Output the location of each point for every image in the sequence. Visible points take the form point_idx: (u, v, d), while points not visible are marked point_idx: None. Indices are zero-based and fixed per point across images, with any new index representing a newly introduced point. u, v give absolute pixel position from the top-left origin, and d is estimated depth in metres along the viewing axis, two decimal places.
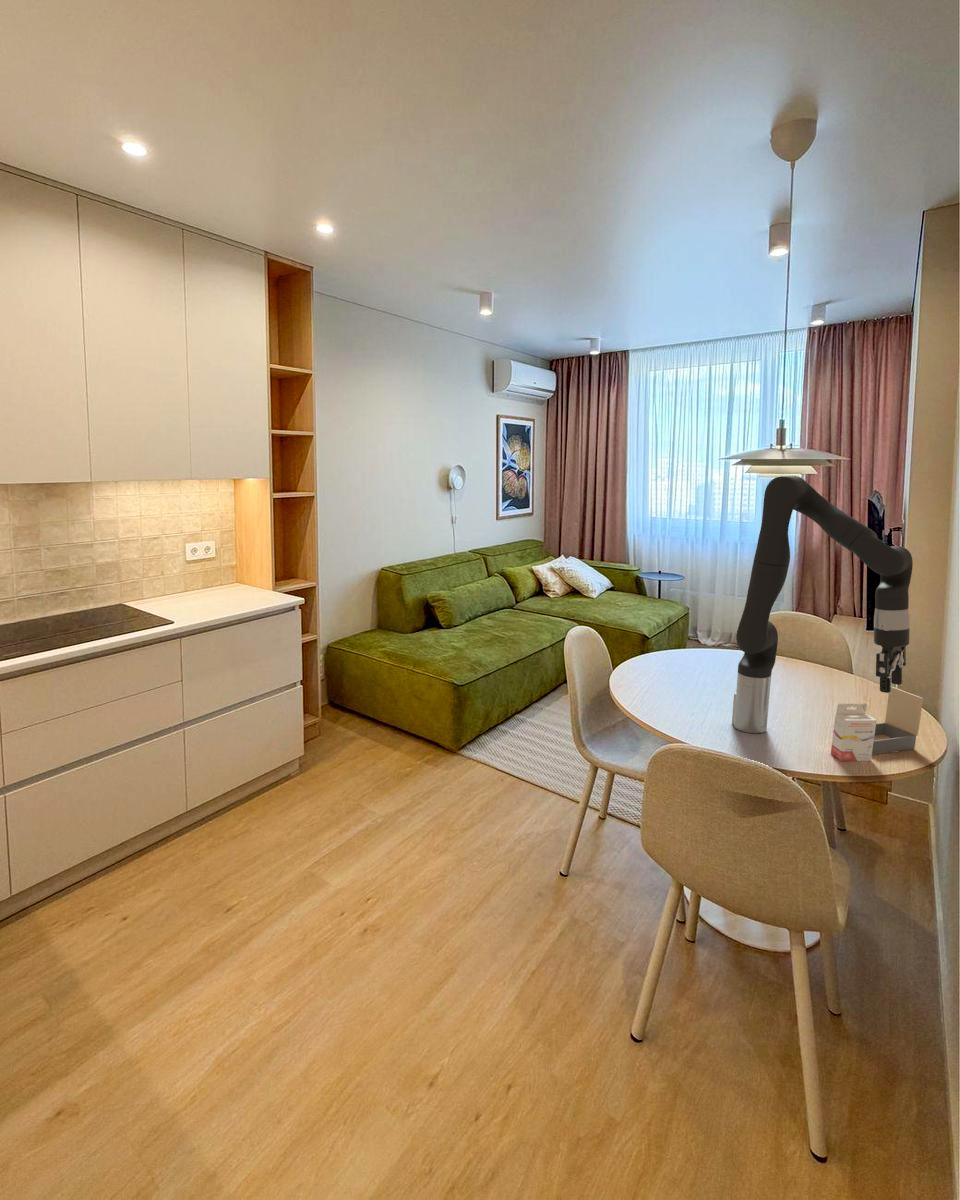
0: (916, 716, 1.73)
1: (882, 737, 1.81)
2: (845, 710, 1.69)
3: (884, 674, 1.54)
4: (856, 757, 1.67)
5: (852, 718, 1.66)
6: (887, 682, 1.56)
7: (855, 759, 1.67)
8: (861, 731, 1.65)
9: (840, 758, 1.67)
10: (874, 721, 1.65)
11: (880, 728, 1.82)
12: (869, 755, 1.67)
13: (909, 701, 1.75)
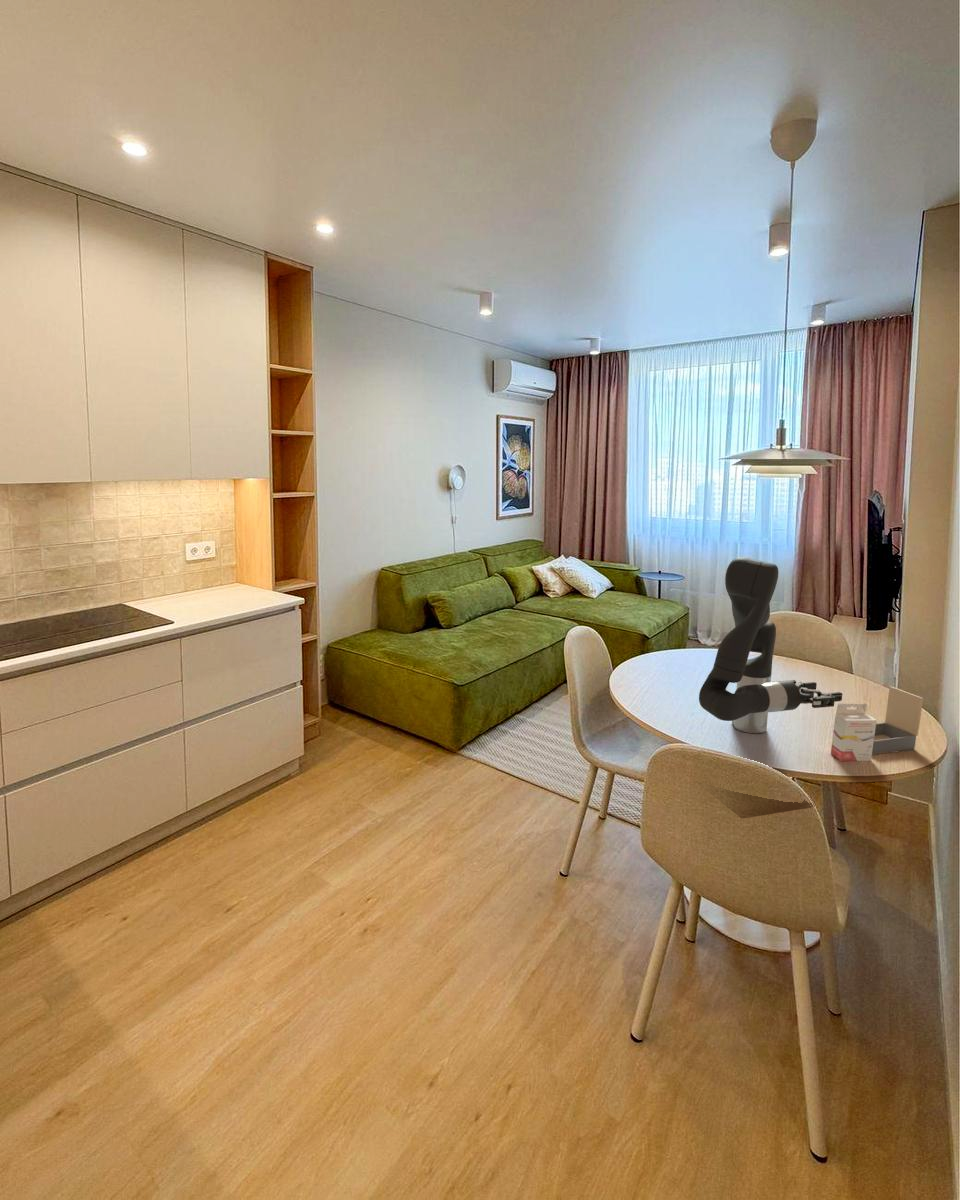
0: (916, 716, 1.73)
1: (882, 737, 1.81)
2: (845, 710, 1.69)
3: None
4: (856, 757, 1.67)
5: (852, 718, 1.66)
6: None
7: (855, 759, 1.67)
8: (861, 731, 1.65)
9: (840, 758, 1.67)
10: (874, 721, 1.65)
11: (880, 728, 1.82)
12: (869, 755, 1.67)
13: (909, 701, 1.75)
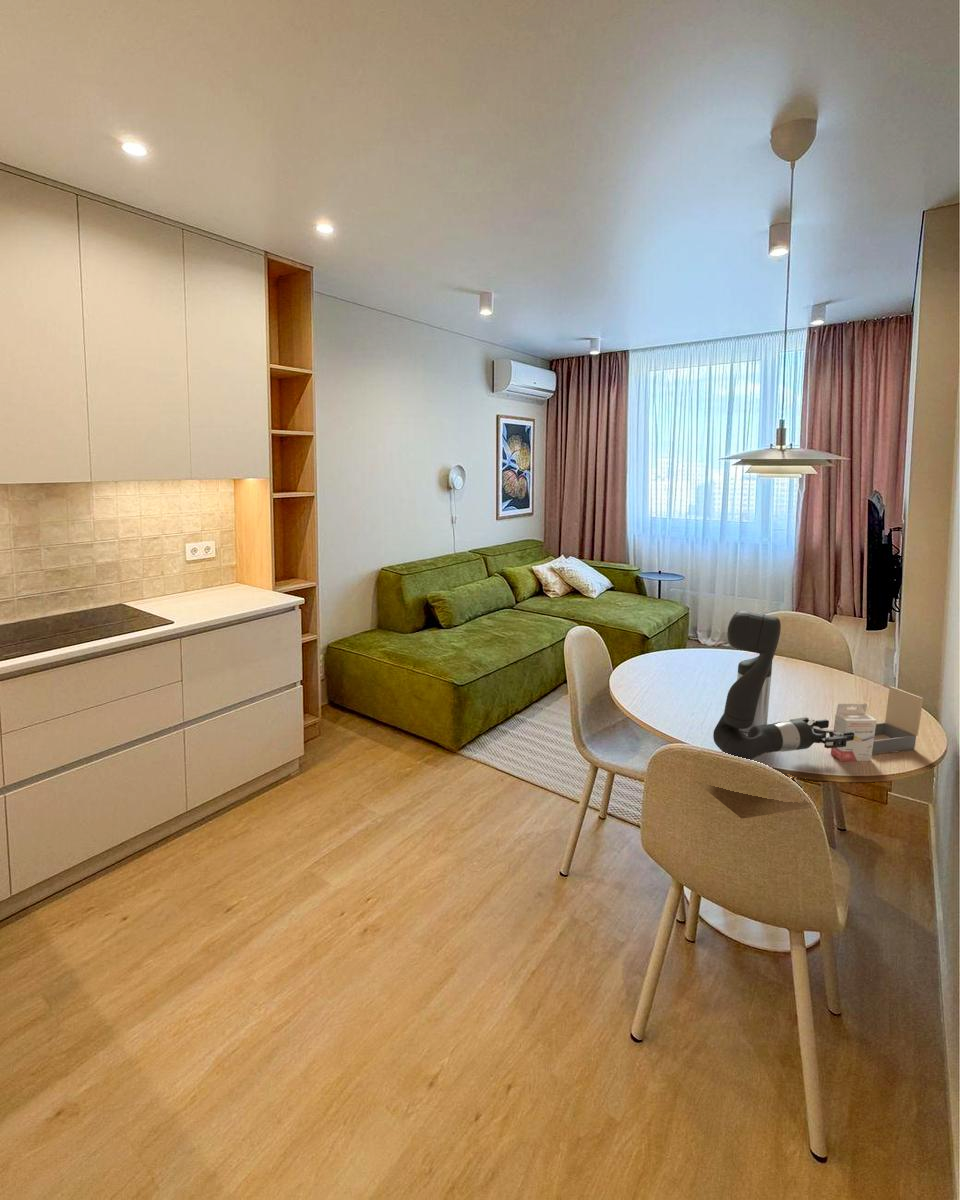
0: (916, 716, 1.73)
1: (882, 737, 1.81)
2: (845, 710, 1.69)
3: None
4: (856, 757, 1.67)
5: (852, 718, 1.66)
6: None
7: (855, 759, 1.67)
8: (861, 732, 1.65)
9: (840, 758, 1.67)
10: (874, 721, 1.65)
11: (880, 728, 1.82)
12: (869, 755, 1.67)
13: (909, 701, 1.75)
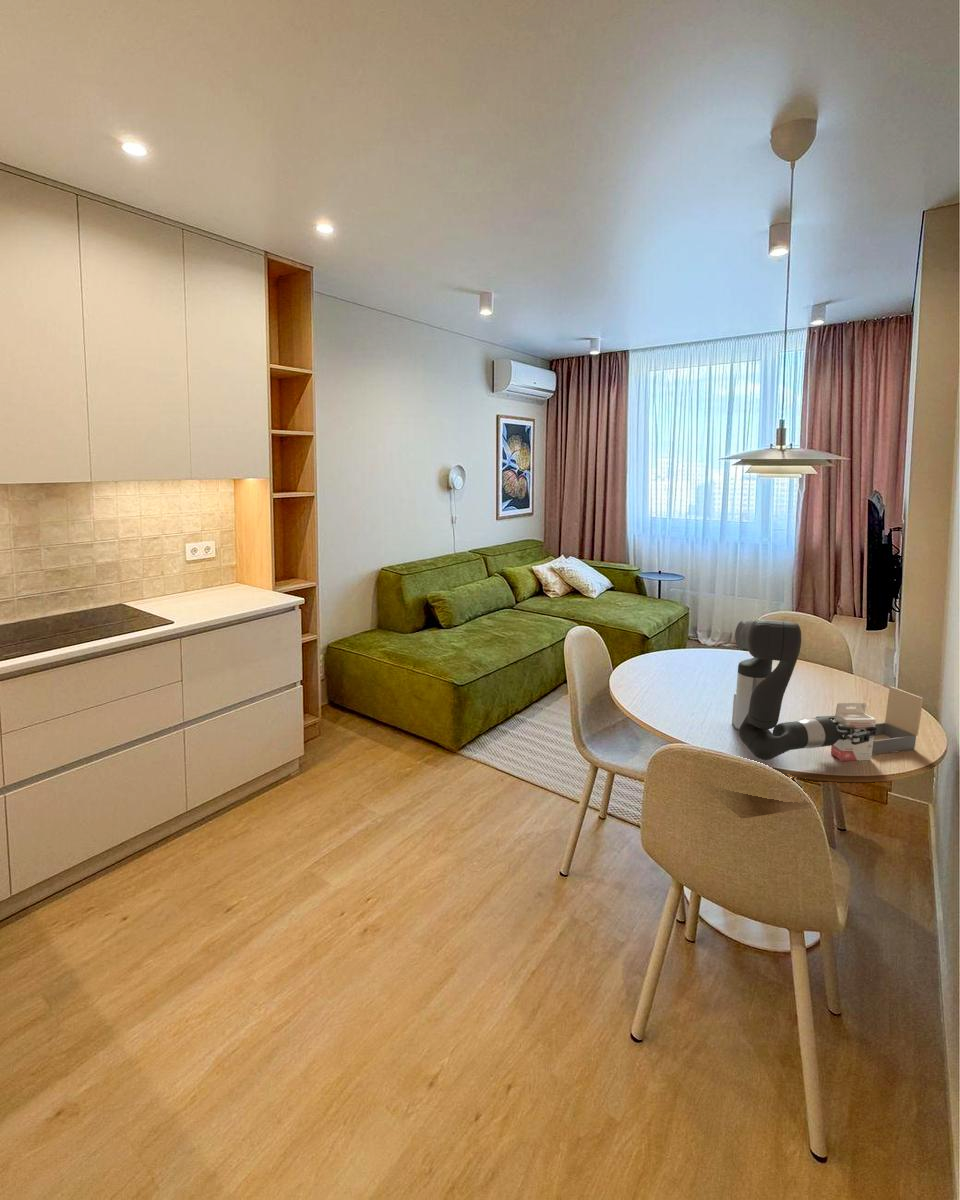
0: (916, 716, 1.73)
1: (882, 737, 1.81)
2: (845, 710, 1.69)
3: None
4: (856, 757, 1.67)
5: (852, 717, 1.66)
6: None
7: (855, 758, 1.67)
8: None
9: (840, 758, 1.67)
10: (873, 720, 1.65)
11: (880, 728, 1.82)
12: (869, 754, 1.67)
13: (909, 701, 1.75)
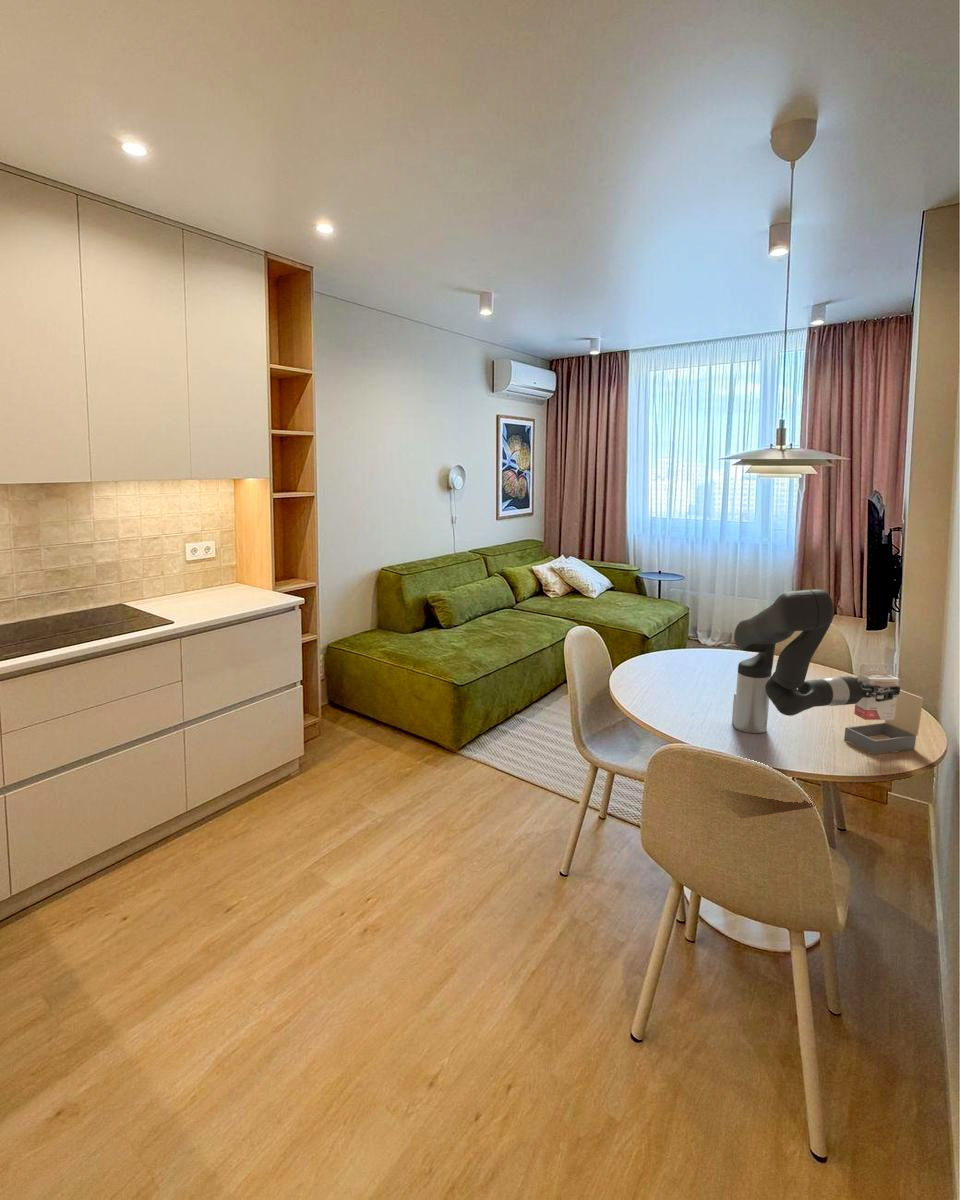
0: (916, 716, 1.73)
1: (882, 737, 1.81)
2: (868, 671, 1.73)
3: None
4: (880, 716, 1.70)
5: (875, 677, 1.70)
6: None
7: (879, 718, 1.70)
8: None
9: (864, 717, 1.70)
10: (897, 680, 1.68)
11: (880, 728, 1.82)
12: (892, 714, 1.70)
13: (909, 701, 1.75)
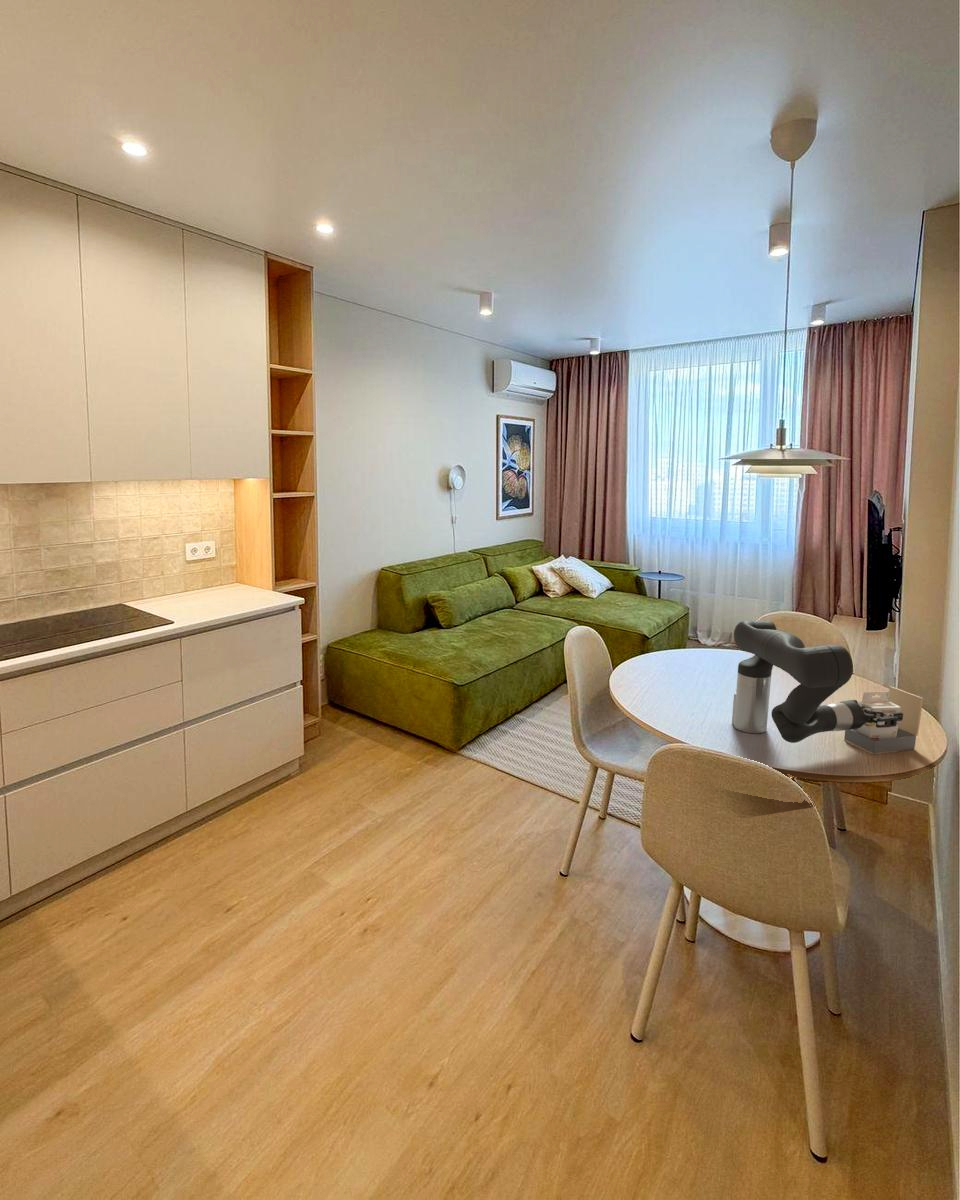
0: (916, 716, 1.73)
1: None
2: (870, 699, 1.76)
3: None
4: None
5: (878, 705, 1.73)
6: None
7: None
8: None
9: None
10: (899, 708, 1.72)
11: None
12: None
13: (909, 701, 1.75)
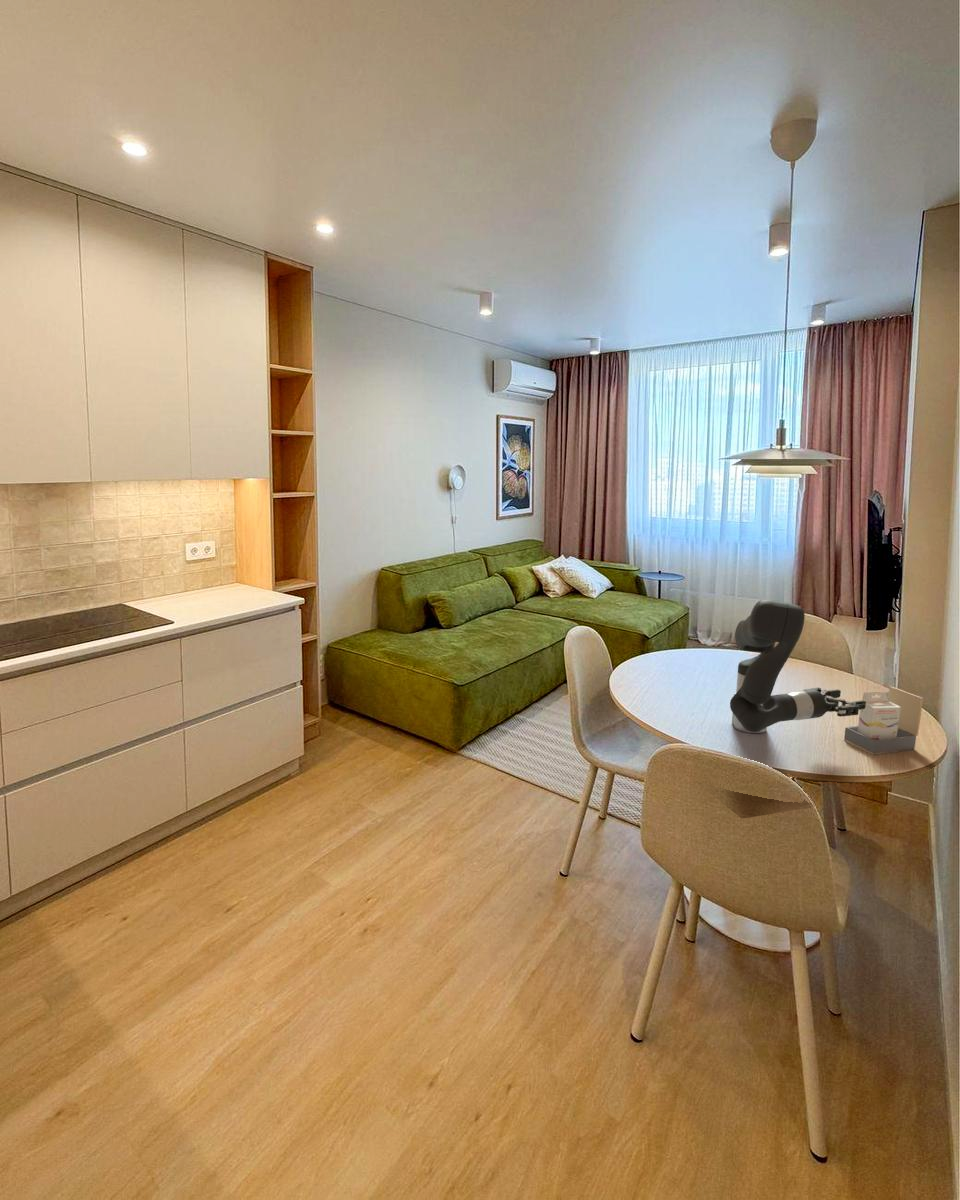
0: (916, 716, 1.73)
1: None
2: (870, 699, 1.76)
3: None
4: None
5: (878, 705, 1.73)
6: None
7: None
8: (886, 718, 1.73)
9: None
10: (899, 708, 1.72)
11: None
12: None
13: (909, 701, 1.75)
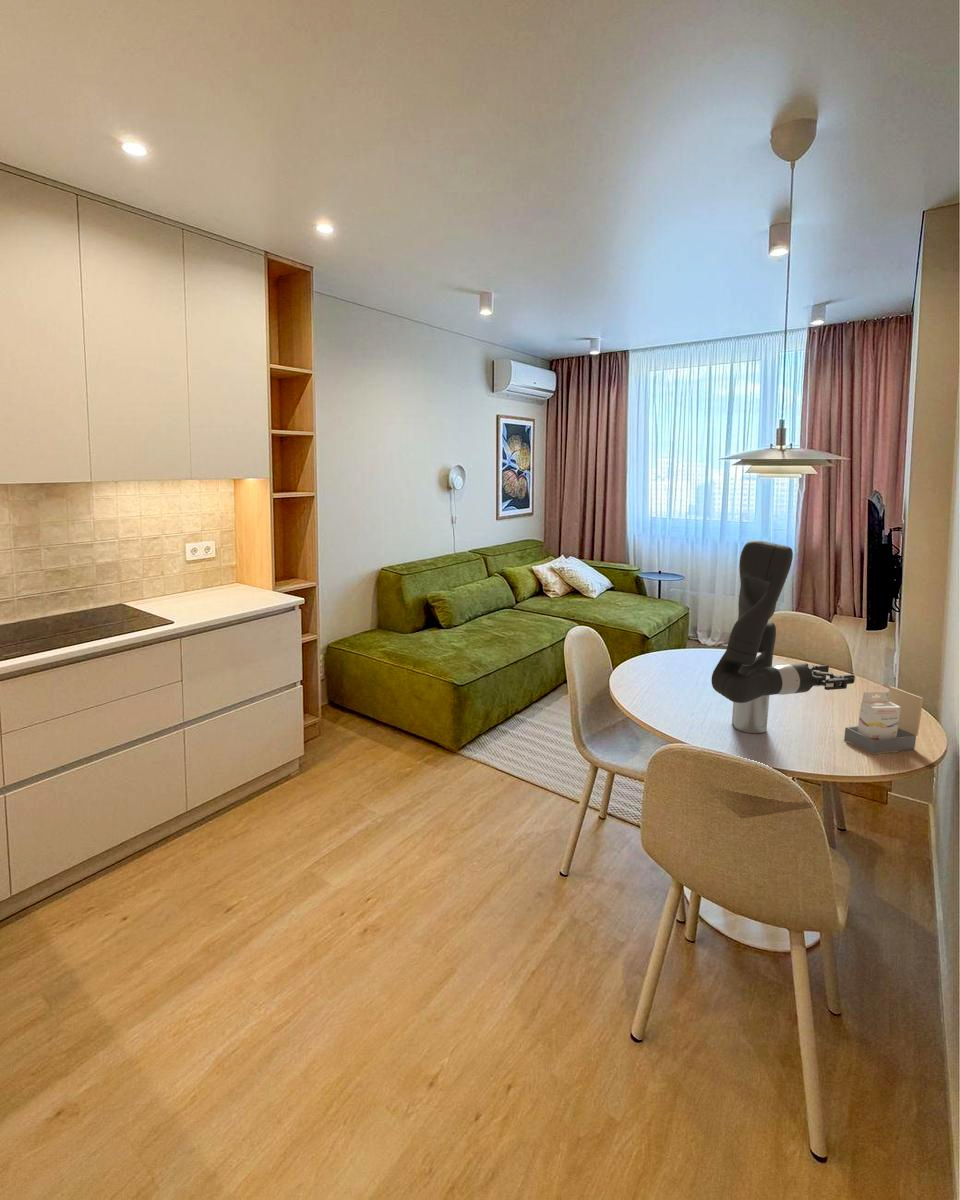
0: (916, 716, 1.73)
1: None
2: (870, 699, 1.76)
3: None
4: None
5: (878, 705, 1.73)
6: None
7: None
8: (886, 718, 1.73)
9: None
10: (899, 708, 1.72)
11: None
12: None
13: (909, 701, 1.75)
